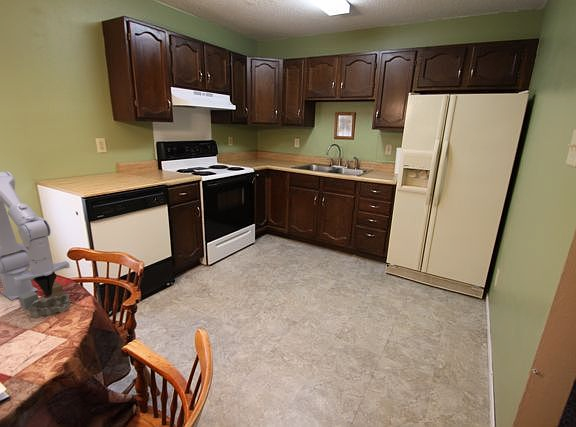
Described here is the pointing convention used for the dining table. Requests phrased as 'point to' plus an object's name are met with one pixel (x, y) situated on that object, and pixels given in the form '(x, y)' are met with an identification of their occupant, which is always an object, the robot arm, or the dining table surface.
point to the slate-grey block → (27, 299)
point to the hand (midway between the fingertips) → (48, 294)
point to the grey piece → (47, 302)
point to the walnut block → (57, 290)
